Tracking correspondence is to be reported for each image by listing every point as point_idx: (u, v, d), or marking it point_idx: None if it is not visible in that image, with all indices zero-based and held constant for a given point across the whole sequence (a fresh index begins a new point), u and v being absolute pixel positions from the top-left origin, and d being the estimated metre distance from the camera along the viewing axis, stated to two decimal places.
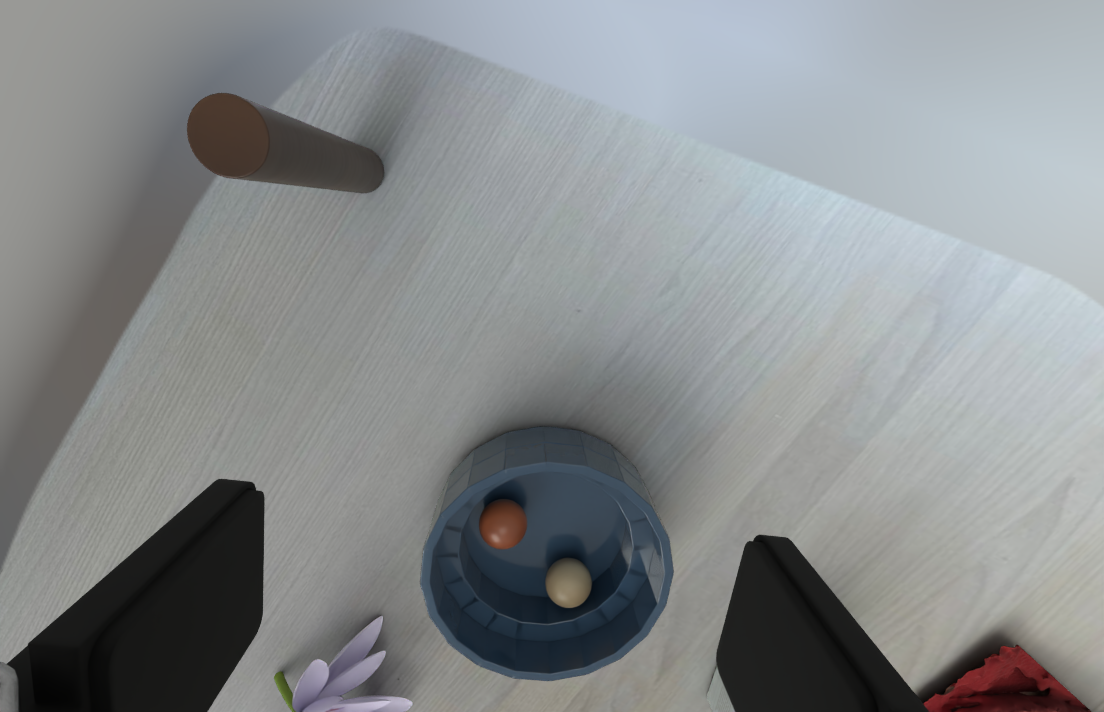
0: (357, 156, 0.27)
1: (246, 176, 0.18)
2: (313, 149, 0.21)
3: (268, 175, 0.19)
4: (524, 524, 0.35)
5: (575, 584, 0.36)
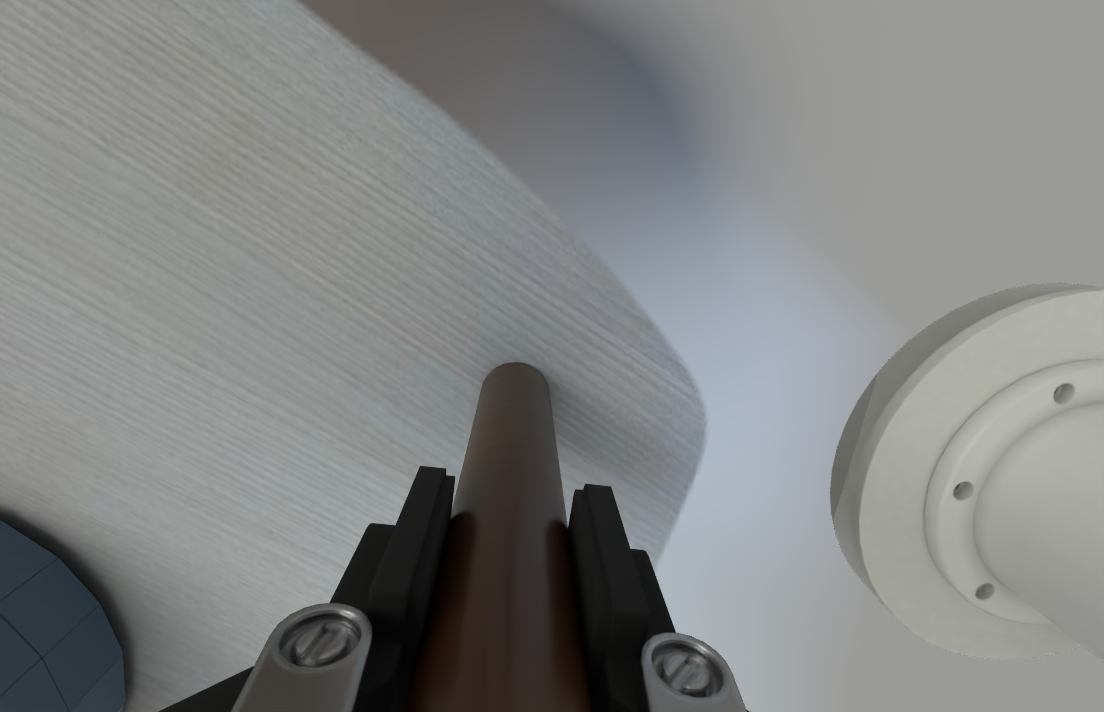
0: None
1: None
2: None
3: None
4: None
5: None
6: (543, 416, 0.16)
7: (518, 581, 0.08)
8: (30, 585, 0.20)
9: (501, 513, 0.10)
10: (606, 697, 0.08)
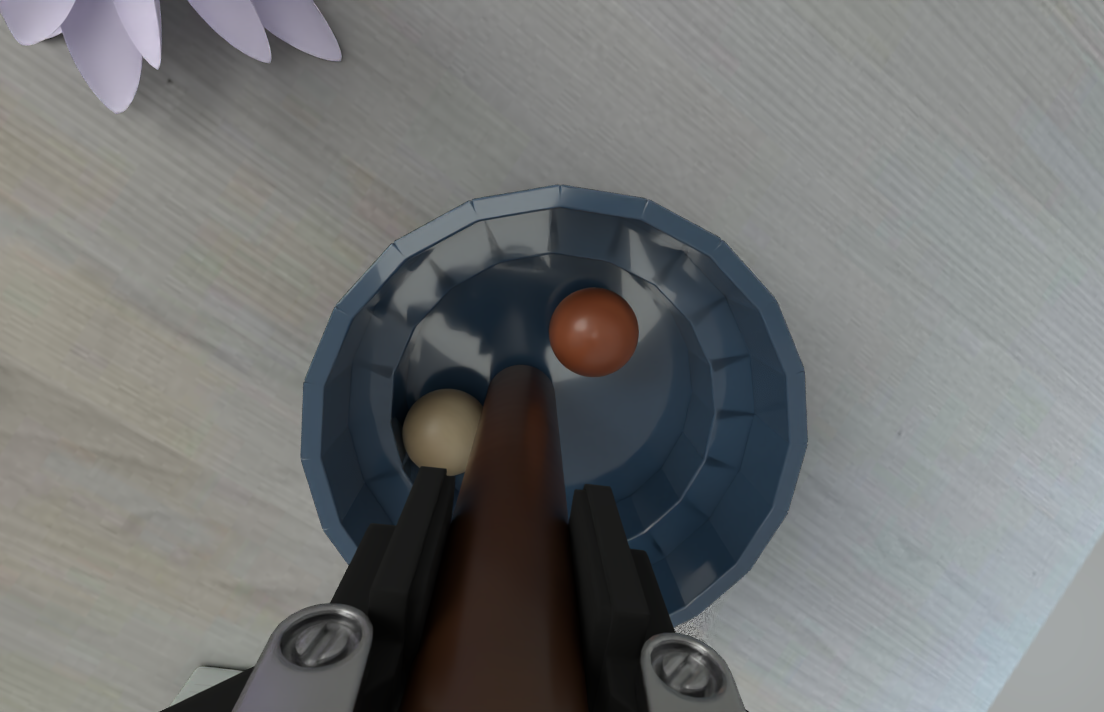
0: None
1: None
2: None
3: None
4: (603, 375, 0.19)
5: (456, 451, 0.19)
6: (546, 417, 0.16)
7: (513, 579, 0.08)
8: None
9: (498, 513, 0.10)
10: (606, 697, 0.08)
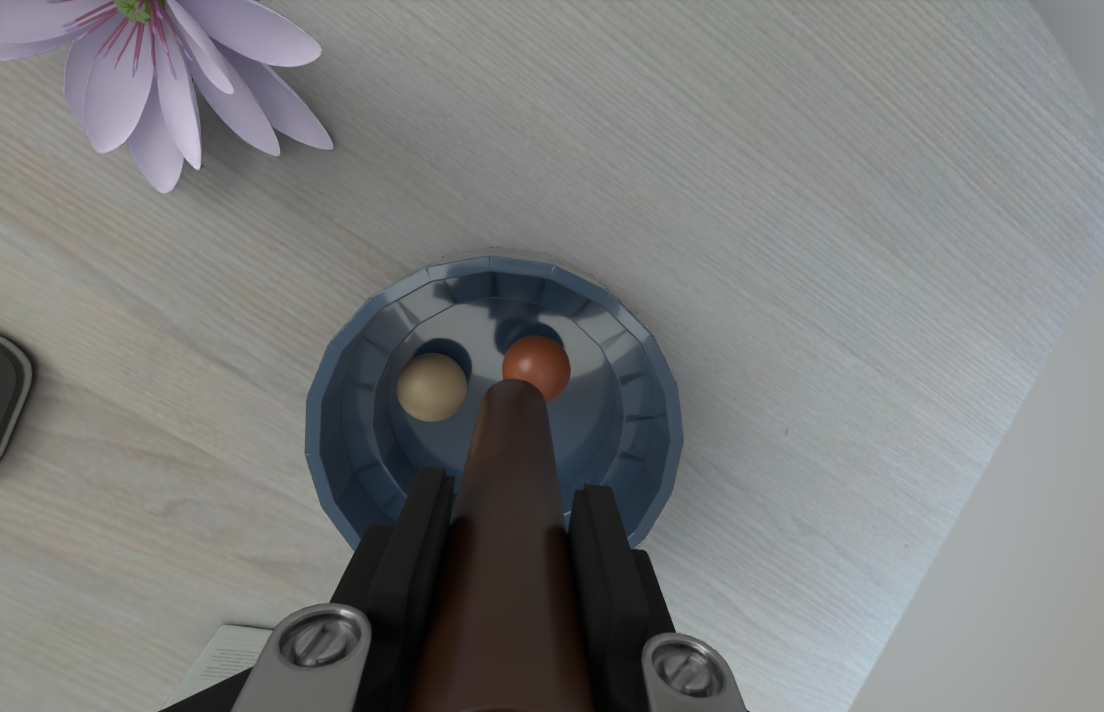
0: None
1: None
2: None
3: None
4: (556, 395, 0.25)
5: (452, 362, 0.25)
6: (542, 429, 0.16)
7: (520, 576, 0.08)
8: None
9: (502, 514, 0.10)
10: (606, 697, 0.08)
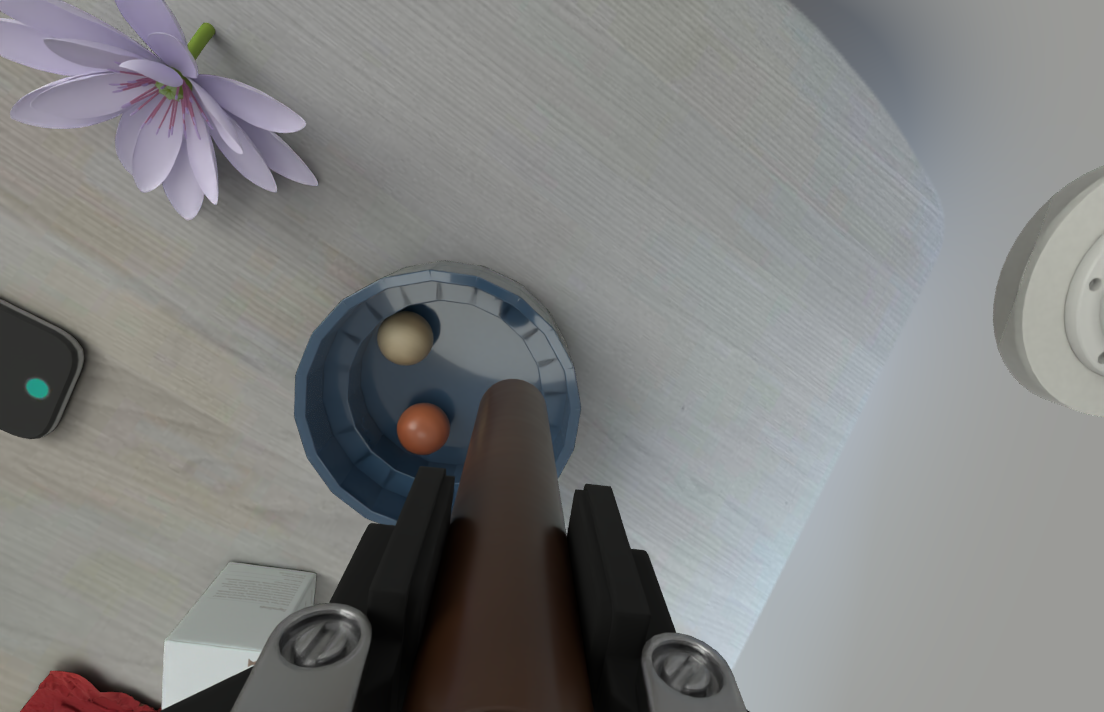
0: None
1: None
2: None
3: None
4: None
5: None
6: (541, 429, 0.16)
7: (519, 577, 0.08)
8: (551, 317, 0.32)
9: (502, 515, 0.10)
10: (606, 697, 0.08)
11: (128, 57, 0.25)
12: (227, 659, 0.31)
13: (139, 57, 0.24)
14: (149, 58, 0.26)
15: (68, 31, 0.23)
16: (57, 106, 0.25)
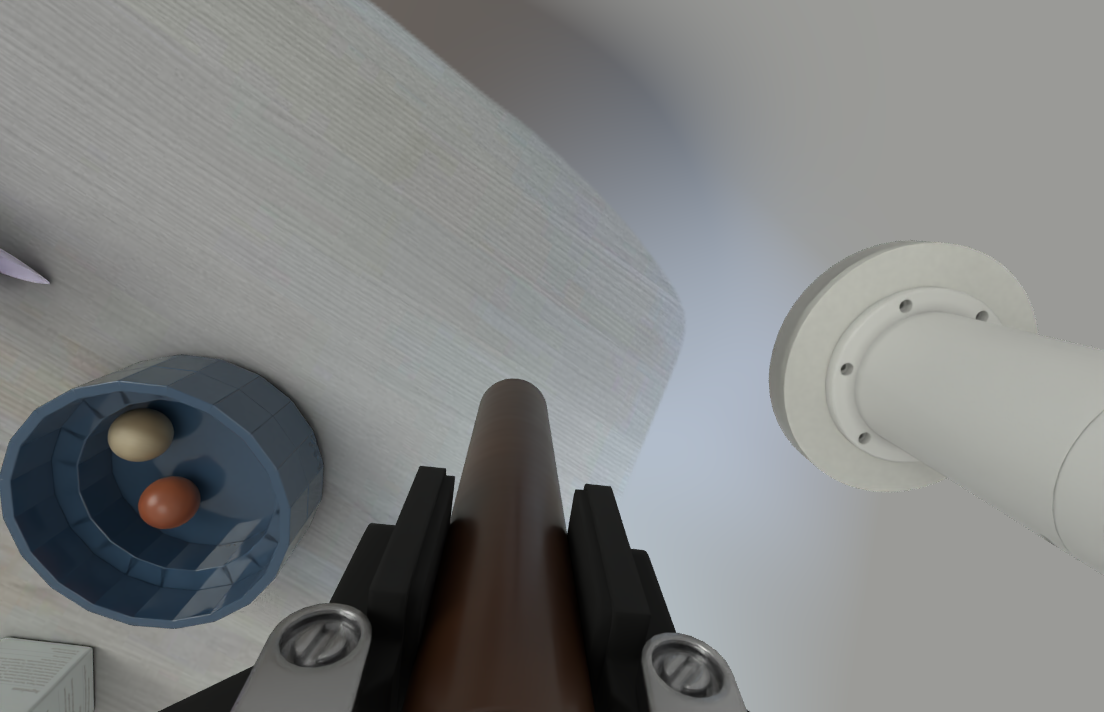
0: None
1: None
2: None
3: None
4: (199, 504, 0.35)
5: None
6: (542, 429, 0.16)
7: (520, 577, 0.08)
8: (284, 410, 0.33)
9: (502, 515, 0.10)
10: (606, 697, 0.08)
11: None
12: None
13: None
14: None
15: None
16: None
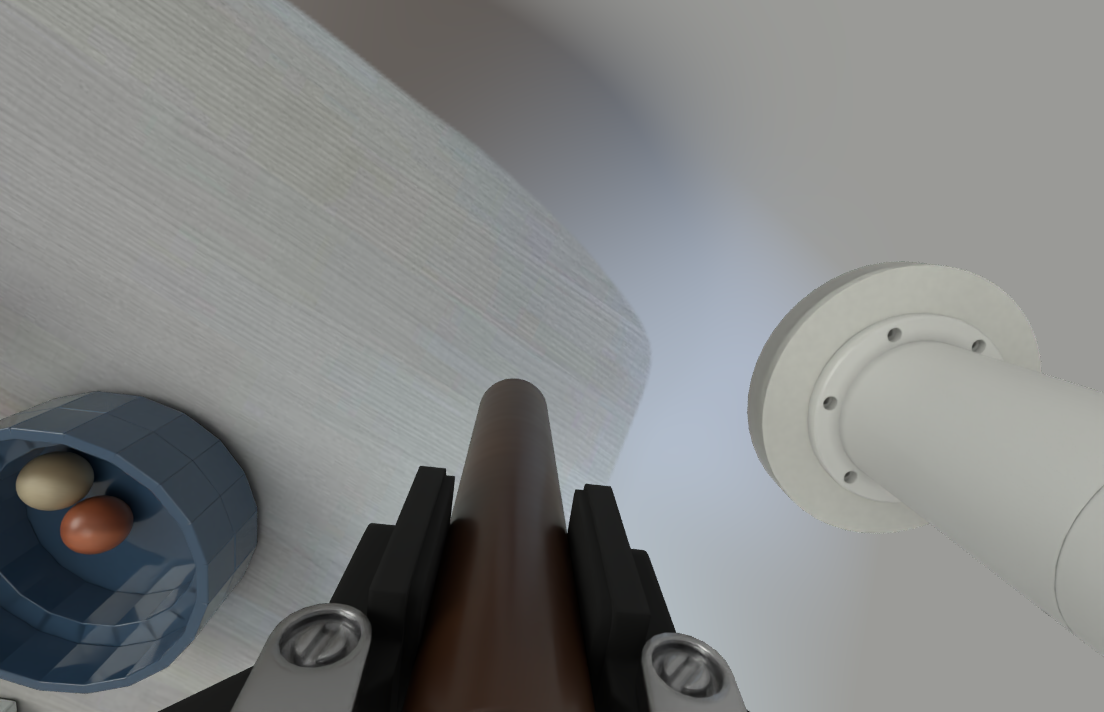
0: None
1: None
2: None
3: None
4: (124, 539, 0.32)
5: None
6: (542, 429, 0.16)
7: (520, 578, 0.08)
8: (208, 453, 0.30)
9: (502, 515, 0.10)
10: (606, 697, 0.08)
11: None
12: None
13: None
14: None
15: None
16: None
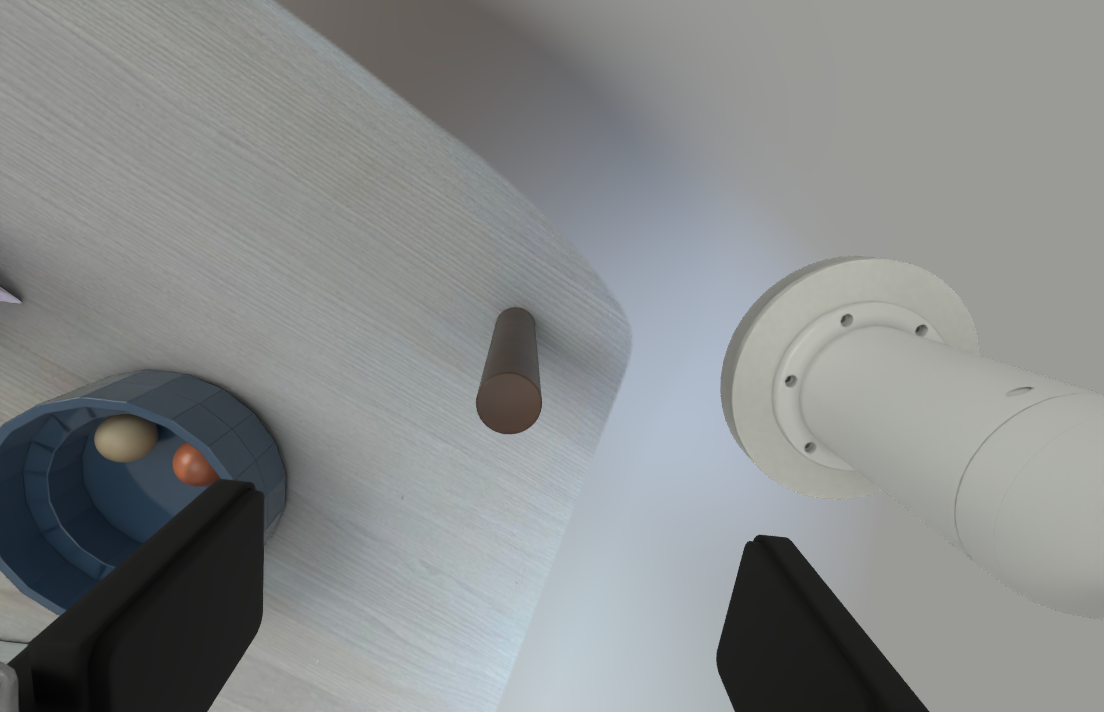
0: None
1: (478, 411, 0.22)
2: None
3: None
4: None
5: None
6: (530, 327, 0.31)
7: (517, 357, 0.24)
8: (245, 423, 0.35)
9: (510, 345, 0.25)
10: None
11: None
12: None
13: None
14: None
15: None
16: None
